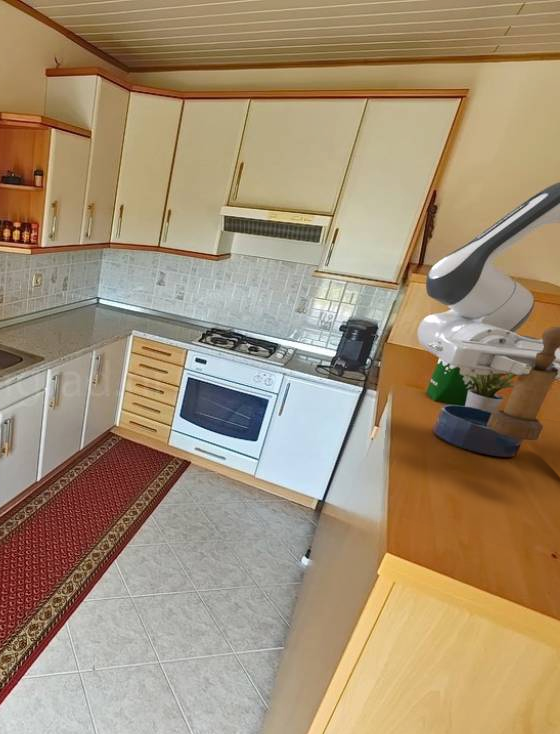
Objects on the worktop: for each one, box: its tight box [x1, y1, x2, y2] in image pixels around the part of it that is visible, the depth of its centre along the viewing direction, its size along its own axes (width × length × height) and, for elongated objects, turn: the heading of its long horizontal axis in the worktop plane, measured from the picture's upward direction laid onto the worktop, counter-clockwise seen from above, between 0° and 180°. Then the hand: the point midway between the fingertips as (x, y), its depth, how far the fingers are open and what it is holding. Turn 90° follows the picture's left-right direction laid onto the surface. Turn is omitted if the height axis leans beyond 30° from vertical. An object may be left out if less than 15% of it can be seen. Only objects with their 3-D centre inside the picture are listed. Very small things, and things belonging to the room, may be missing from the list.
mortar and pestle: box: [487, 326, 560, 441], centre depth 78 cm, size 7×6×18 cm
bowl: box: [432, 404, 524, 458], centre depth 105 cm, size 14×14×6 cm
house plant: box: [462, 373, 519, 413], centre depth 118 cm, size 14×14×16 cm
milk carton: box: [425, 357, 478, 406], centre depth 129 cm, size 9×9×20 cm
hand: (544, 372), depth 77 cm, fingers closed on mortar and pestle, 4 cm apart
